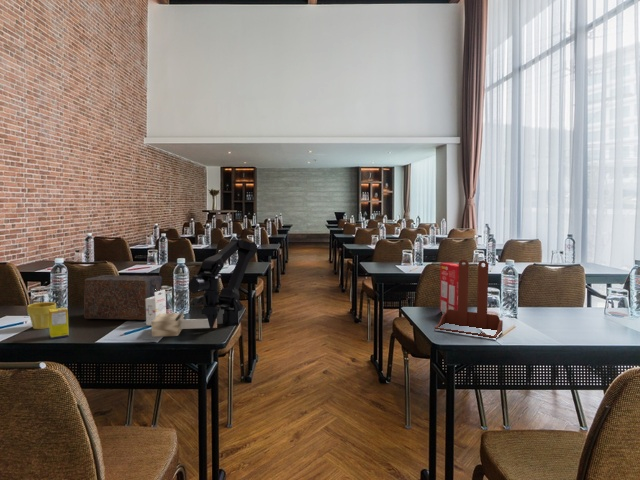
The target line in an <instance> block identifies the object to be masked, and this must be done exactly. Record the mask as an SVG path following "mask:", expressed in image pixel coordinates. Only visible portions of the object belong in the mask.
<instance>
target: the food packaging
mask: <svg viewBox="0 0 640 480" xmlns="http://www.w3.org/2000/svg"><path fill="white" fill-rule="evenodd" d="M458 276H459V263H452V262H440V277H439V279H440V280H439V283H440V284H439V312H440V311H442V312H445V313H447V311H448V310H449V309H452V310H458Z"/></svg>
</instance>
